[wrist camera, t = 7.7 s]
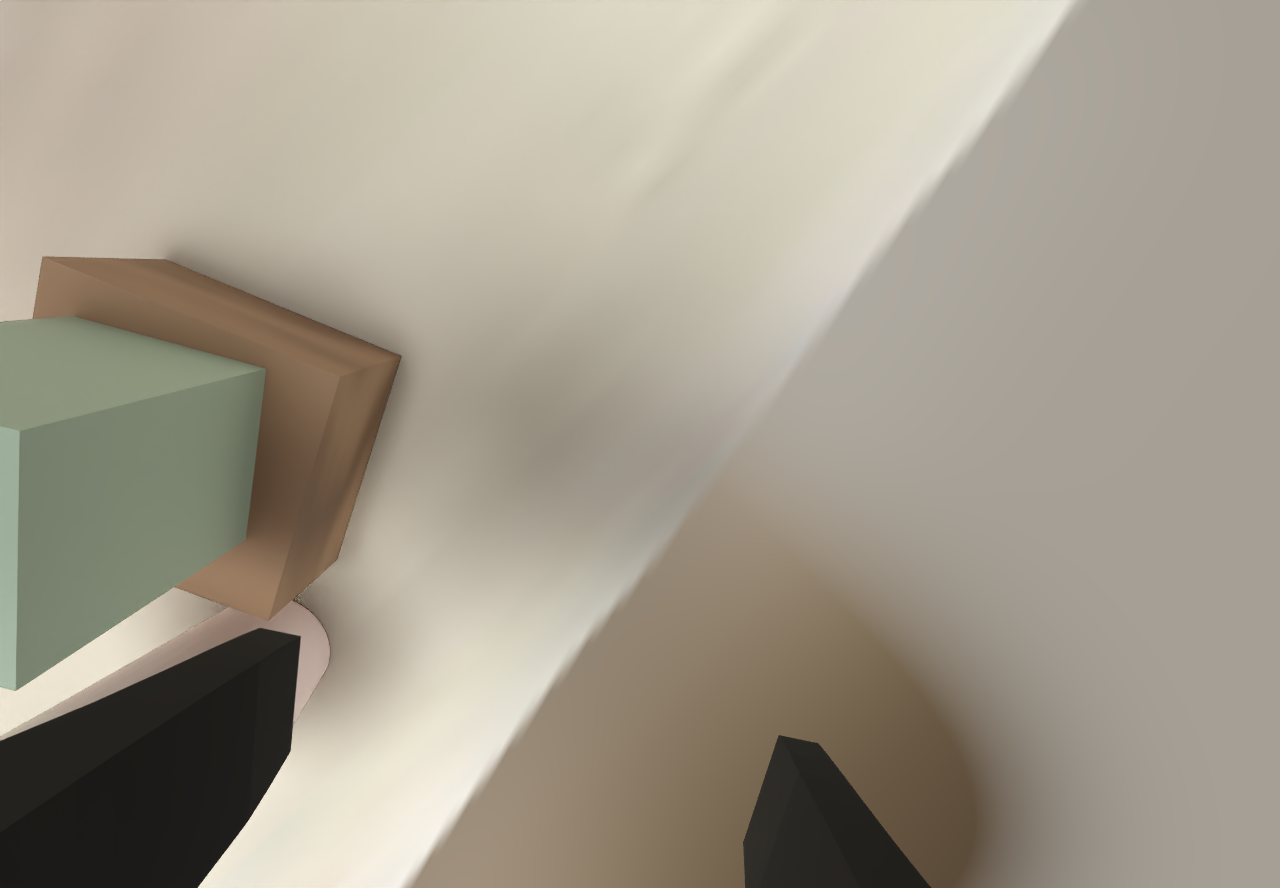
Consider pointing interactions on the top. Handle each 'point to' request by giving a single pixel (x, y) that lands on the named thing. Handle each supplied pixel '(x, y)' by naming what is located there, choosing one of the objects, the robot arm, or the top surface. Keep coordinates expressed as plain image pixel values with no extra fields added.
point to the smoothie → (201, 640)
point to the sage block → (111, 478)
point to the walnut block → (290, 416)
